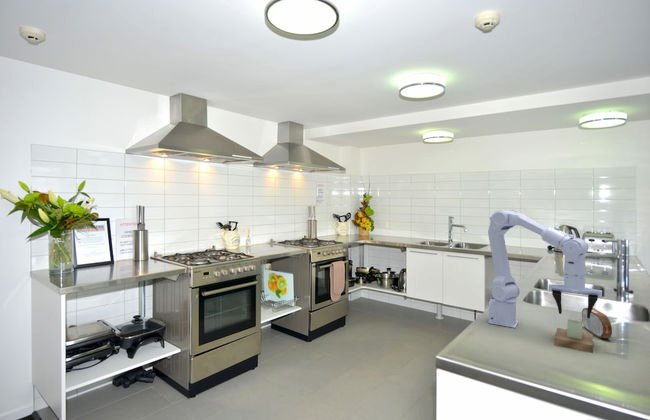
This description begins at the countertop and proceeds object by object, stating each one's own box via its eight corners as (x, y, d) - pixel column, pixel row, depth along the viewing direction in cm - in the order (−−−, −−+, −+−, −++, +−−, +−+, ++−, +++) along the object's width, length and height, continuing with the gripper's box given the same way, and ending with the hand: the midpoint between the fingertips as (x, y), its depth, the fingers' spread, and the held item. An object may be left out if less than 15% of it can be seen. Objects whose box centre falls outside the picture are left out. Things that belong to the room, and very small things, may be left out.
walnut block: (554, 347, 117) (554, 338, 117) (557, 336, 126) (557, 327, 126) (592, 354, 111) (592, 345, 111) (592, 342, 120) (592, 333, 120)
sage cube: (567, 336, 118) (567, 321, 118) (567, 333, 121) (568, 318, 121) (582, 339, 116) (582, 323, 115) (582, 335, 119) (582, 320, 119)
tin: (613, 342, 119) (613, 317, 119) (602, 341, 120) (602, 316, 120) (589, 327, 134) (589, 305, 134) (579, 326, 135) (580, 304, 135)
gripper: (547, 274, 119) (547, 314, 119) (602, 279, 111) (602, 322, 111) (549, 270, 125) (549, 309, 125) (601, 275, 116) (601, 316, 117)
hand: (574, 315), depth 118 cm, fingers open, 7 cm apart
